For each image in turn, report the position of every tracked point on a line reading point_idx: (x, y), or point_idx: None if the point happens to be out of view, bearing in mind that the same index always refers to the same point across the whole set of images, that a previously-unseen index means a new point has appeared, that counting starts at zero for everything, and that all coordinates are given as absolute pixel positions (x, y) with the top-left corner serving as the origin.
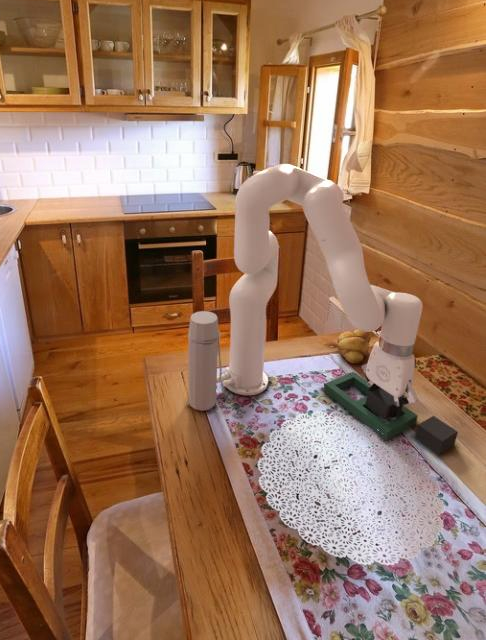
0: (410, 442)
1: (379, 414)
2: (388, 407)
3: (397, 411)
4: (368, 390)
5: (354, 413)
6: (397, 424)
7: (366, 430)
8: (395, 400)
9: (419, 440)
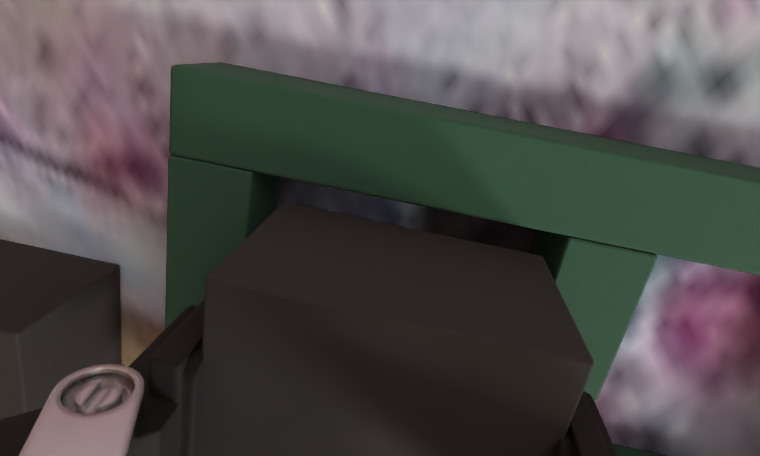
0: (109, 199)
1: (352, 223)
2: (211, 286)
3: (165, 333)
4: (609, 438)
5: (590, 136)
6: (185, 241)
7: (398, 35)
8: (99, 427)
9: (79, 260)
